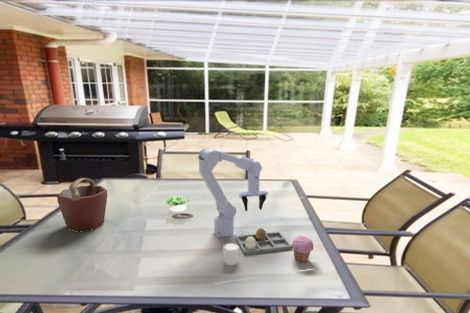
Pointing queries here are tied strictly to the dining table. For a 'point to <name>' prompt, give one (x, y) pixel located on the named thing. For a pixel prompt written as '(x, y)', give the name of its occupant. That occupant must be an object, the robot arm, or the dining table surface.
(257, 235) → the brown egg
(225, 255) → the white textured cylinder
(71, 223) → the bucket
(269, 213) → the dining table surface
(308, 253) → the cupcake
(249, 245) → the cream egg
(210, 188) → the robot arm
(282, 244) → the egg tray
